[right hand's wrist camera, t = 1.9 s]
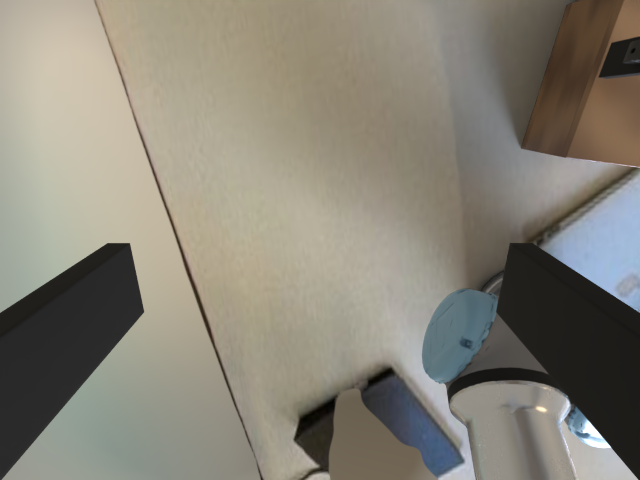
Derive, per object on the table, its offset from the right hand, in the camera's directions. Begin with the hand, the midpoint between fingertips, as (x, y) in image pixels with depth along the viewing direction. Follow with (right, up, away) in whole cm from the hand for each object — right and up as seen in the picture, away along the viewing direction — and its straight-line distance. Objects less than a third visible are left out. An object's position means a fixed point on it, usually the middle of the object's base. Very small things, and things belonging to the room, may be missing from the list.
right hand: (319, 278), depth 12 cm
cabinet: (+35, +22, +35) cm, 54 cm away
